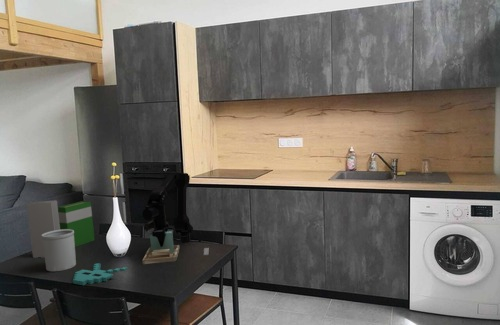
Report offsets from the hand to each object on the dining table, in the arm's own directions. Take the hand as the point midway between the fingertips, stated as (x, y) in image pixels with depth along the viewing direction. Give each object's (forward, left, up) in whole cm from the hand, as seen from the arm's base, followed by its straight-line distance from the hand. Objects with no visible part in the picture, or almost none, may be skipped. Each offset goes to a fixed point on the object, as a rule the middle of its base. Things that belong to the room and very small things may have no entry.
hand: (162, 245), depth 217 cm
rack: (+4, 0, -6) cm, 7 cm away
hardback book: (-39, -55, -6) cm, 68 cm away
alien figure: (+22, -28, -6) cm, 36 cm away
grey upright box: (-19, -65, -6) cm, 68 cm away
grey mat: (+1, +17, -6) cm, 18 cm away
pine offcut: (+10, +1, -2) cm, 10 cm away
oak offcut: (+10, 0, -4) cm, 11 cm away
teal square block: (0, 0, -4) cm, 4 cm away
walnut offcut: (+10, 0, -3) cm, 10 cm away
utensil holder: (+3, -50, -6) cm, 50 cm away
